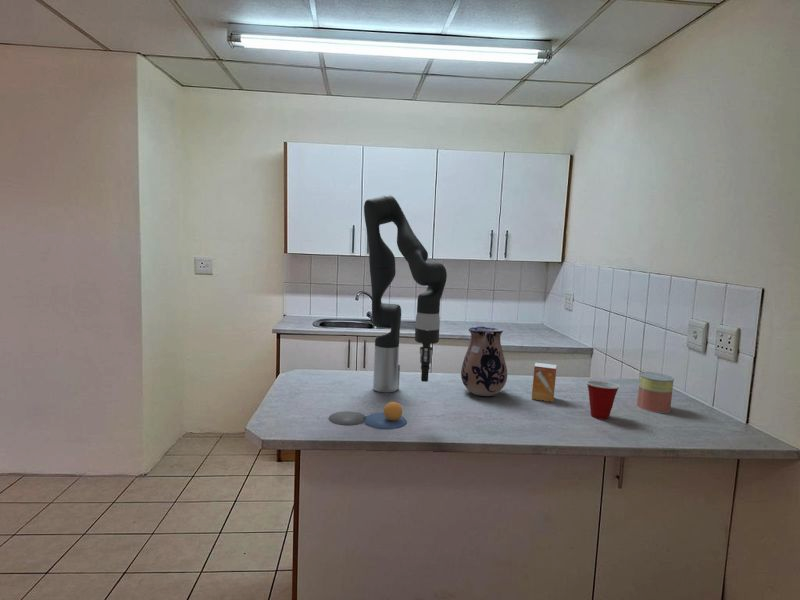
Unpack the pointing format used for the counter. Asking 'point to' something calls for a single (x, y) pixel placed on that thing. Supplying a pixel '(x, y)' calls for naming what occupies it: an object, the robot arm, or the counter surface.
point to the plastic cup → (601, 398)
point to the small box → (544, 382)
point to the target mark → (383, 421)
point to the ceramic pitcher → (484, 362)
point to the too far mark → (347, 418)
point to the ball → (393, 411)
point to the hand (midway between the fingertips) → (424, 380)
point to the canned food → (655, 392)
